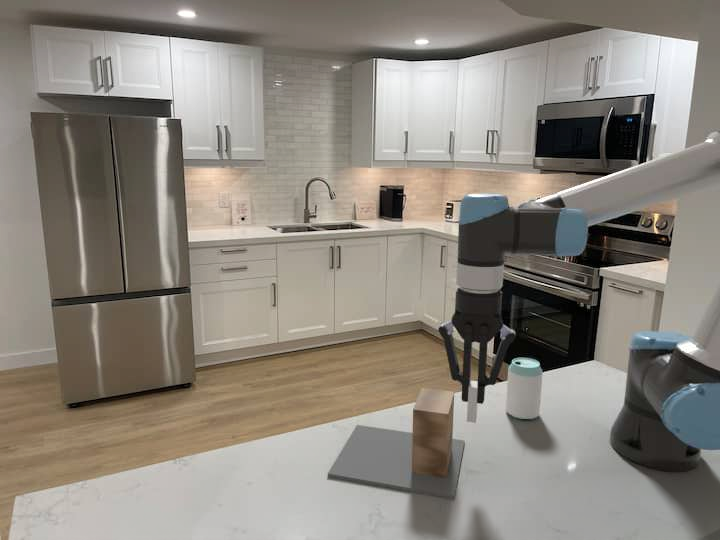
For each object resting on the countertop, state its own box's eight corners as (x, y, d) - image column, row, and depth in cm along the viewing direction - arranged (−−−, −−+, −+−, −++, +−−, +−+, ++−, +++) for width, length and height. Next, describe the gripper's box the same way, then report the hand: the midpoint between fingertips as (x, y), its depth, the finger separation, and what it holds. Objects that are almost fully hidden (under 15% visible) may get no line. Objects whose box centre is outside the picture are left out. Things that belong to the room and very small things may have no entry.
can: (521, 424, 110) (525, 371, 108) (498, 410, 116) (501, 359, 114) (546, 417, 114) (550, 364, 111) (522, 403, 120) (526, 354, 117)
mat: (464, 443, 103) (464, 440, 103) (454, 499, 86) (454, 495, 86) (357, 427, 109) (357, 424, 109) (327, 476, 92) (327, 473, 92)
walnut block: (451, 451, 99) (454, 391, 97) (445, 478, 91) (448, 414, 88) (420, 446, 101) (422, 387, 98) (411, 472, 92) (413, 409, 90)
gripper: (519, 285, 89) (510, 414, 94) (442, 280, 92) (437, 404, 97) (520, 296, 82) (510, 434, 87) (436, 290, 85) (431, 423, 90)
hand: (471, 418), depth 92 cm, fingers closed
